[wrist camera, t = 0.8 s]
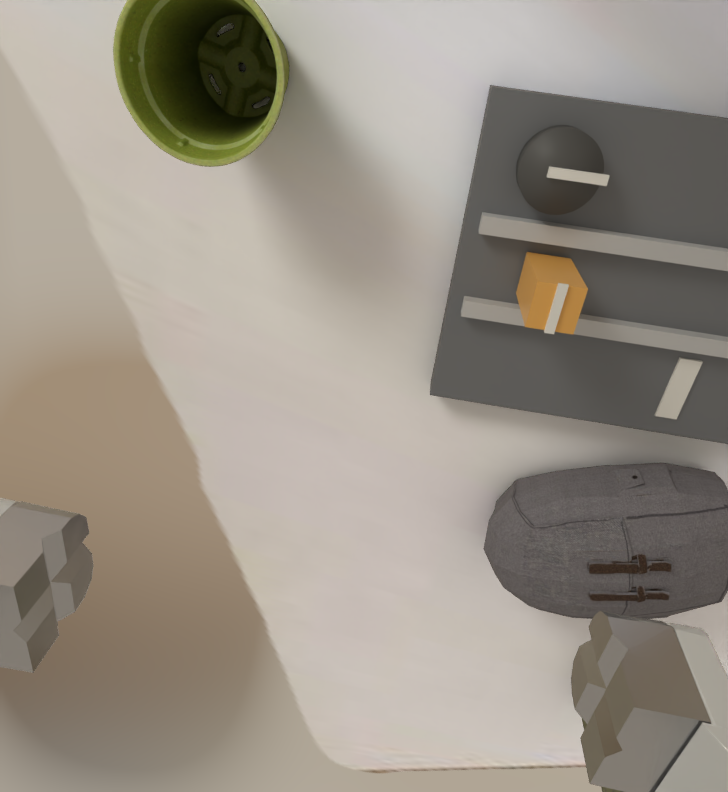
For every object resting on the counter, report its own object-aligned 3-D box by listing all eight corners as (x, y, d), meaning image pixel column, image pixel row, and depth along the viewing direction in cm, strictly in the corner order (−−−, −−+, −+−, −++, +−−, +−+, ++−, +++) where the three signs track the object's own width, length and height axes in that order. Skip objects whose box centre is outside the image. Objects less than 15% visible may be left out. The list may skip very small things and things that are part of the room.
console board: (490, 85, 38) (494, 89, 34) (943, 148, 37) (998, 159, 33) (430, 382, 49) (429, 409, 46) (776, 439, 48) (803, 471, 44)
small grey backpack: (721, 437, 49) (473, 458, 53) (767, 504, 42) (477, 522, 46) (706, 571, 56) (489, 580, 60) (744, 647, 49) (494, 652, 53)
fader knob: (527, 250, 41) (538, 280, 35) (571, 257, 41) (589, 288, 35) (515, 294, 42) (524, 329, 37) (557, 300, 42) (573, 337, 37)
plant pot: (340, 102, 40) (315, 115, 32) (226, 169, 43) (179, 194, 35) (267, -51, 36) (219, -77, 29) (148, 33, 39) (77, 30, 32)
